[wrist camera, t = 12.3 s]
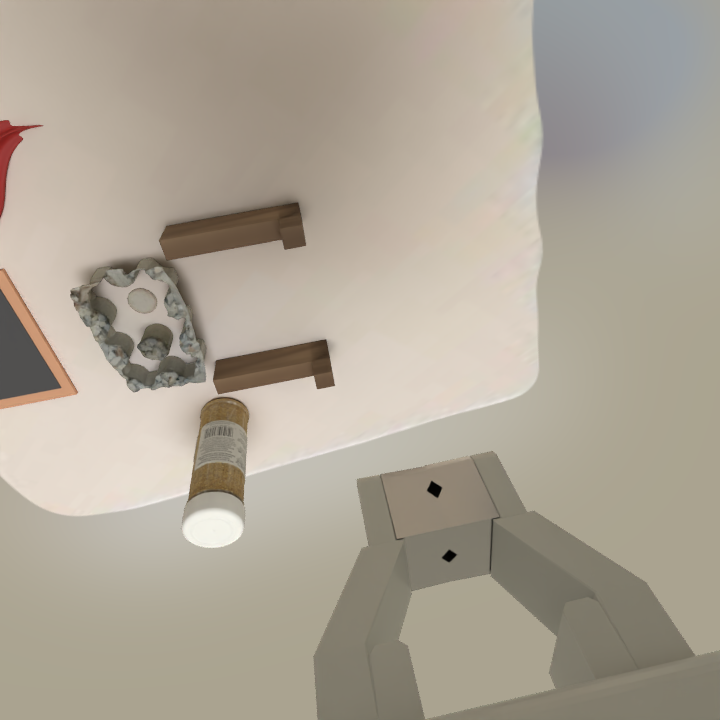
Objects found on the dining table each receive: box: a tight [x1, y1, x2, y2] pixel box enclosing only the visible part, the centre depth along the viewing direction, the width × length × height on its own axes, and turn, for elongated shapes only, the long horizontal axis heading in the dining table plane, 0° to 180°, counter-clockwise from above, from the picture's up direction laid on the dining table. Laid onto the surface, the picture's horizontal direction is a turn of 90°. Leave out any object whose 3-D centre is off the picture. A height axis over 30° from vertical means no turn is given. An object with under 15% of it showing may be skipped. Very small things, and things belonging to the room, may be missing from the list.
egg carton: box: [70, 258, 206, 392], centre depth 40 cm, size 11×8×4 cm
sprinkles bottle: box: [182, 398, 249, 548], centre depth 42 cm, size 5×5×13 cm
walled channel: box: [159, 203, 335, 394], centre depth 39 cm, size 14×10×5 cm
